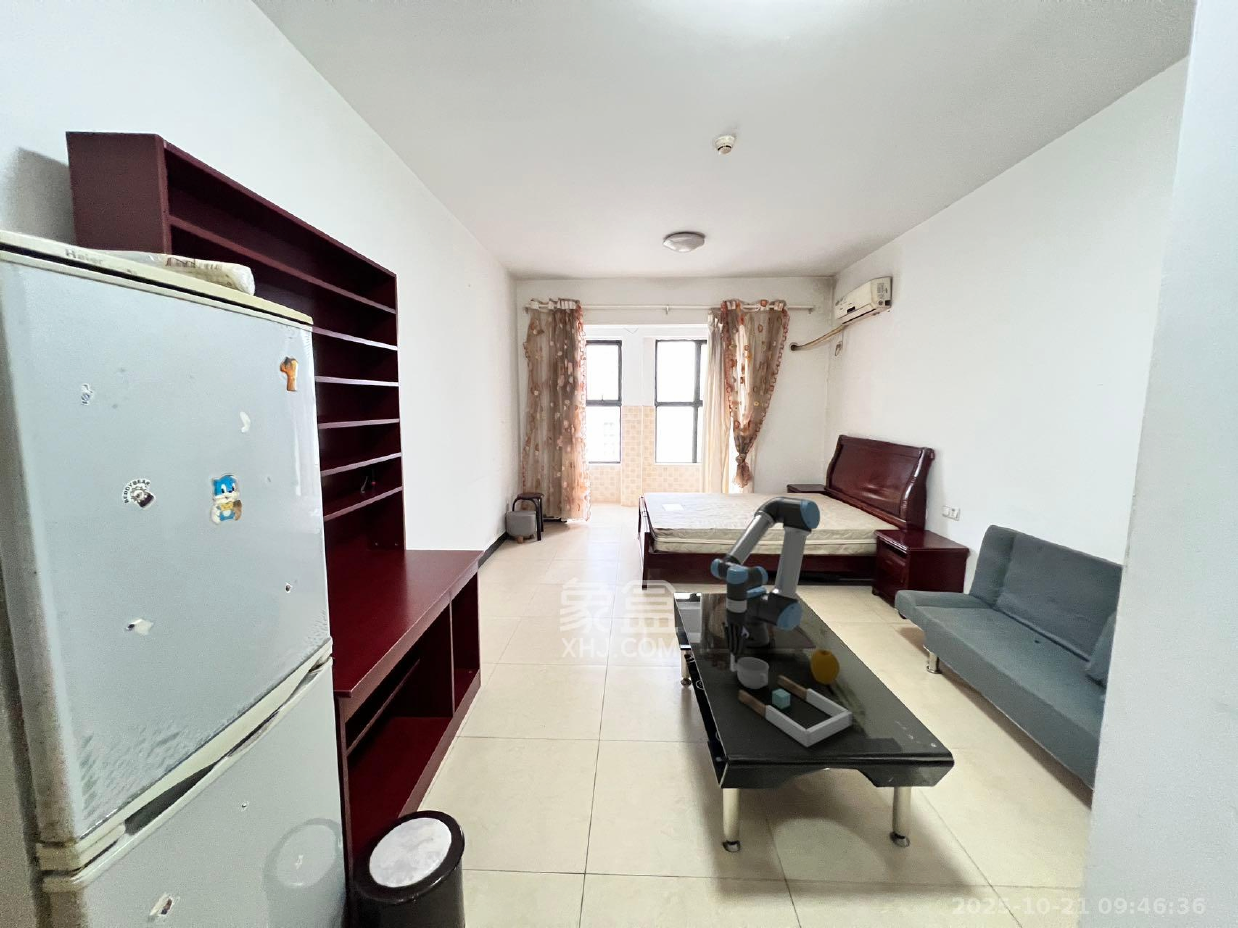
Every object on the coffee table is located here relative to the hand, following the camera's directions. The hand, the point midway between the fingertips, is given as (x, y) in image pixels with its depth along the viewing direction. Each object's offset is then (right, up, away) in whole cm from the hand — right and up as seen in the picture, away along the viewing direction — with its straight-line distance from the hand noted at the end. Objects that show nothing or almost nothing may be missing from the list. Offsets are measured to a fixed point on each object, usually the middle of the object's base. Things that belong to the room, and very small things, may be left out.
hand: (734, 669), depth 175 cm
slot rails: (+9, -3, -16) cm, 19 cm away
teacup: (+5, -3, -8) cm, 10 cm away
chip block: (+11, -3, -19) cm, 22 cm away
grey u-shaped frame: (+16, -4, -28) cm, 33 cm away
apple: (+32, -3, -5) cm, 32 cm away
